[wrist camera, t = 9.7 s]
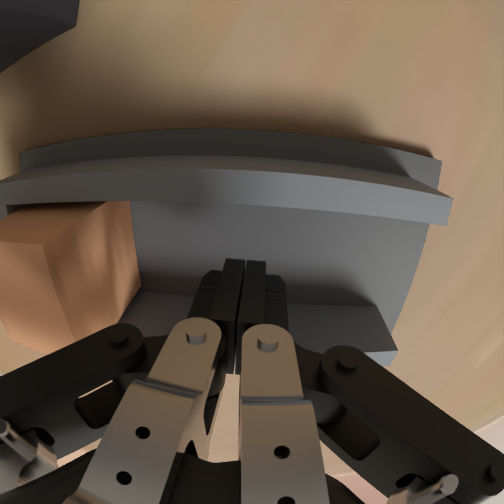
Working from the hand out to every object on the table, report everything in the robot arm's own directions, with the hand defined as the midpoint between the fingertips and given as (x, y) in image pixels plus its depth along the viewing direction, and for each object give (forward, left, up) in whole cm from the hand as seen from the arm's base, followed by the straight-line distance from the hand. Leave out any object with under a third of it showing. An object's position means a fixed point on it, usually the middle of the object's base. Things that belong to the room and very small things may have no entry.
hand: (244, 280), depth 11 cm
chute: (+1, -3, -5) cm, 6 cm away
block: (+1, -10, -4) cm, 10 cm away
